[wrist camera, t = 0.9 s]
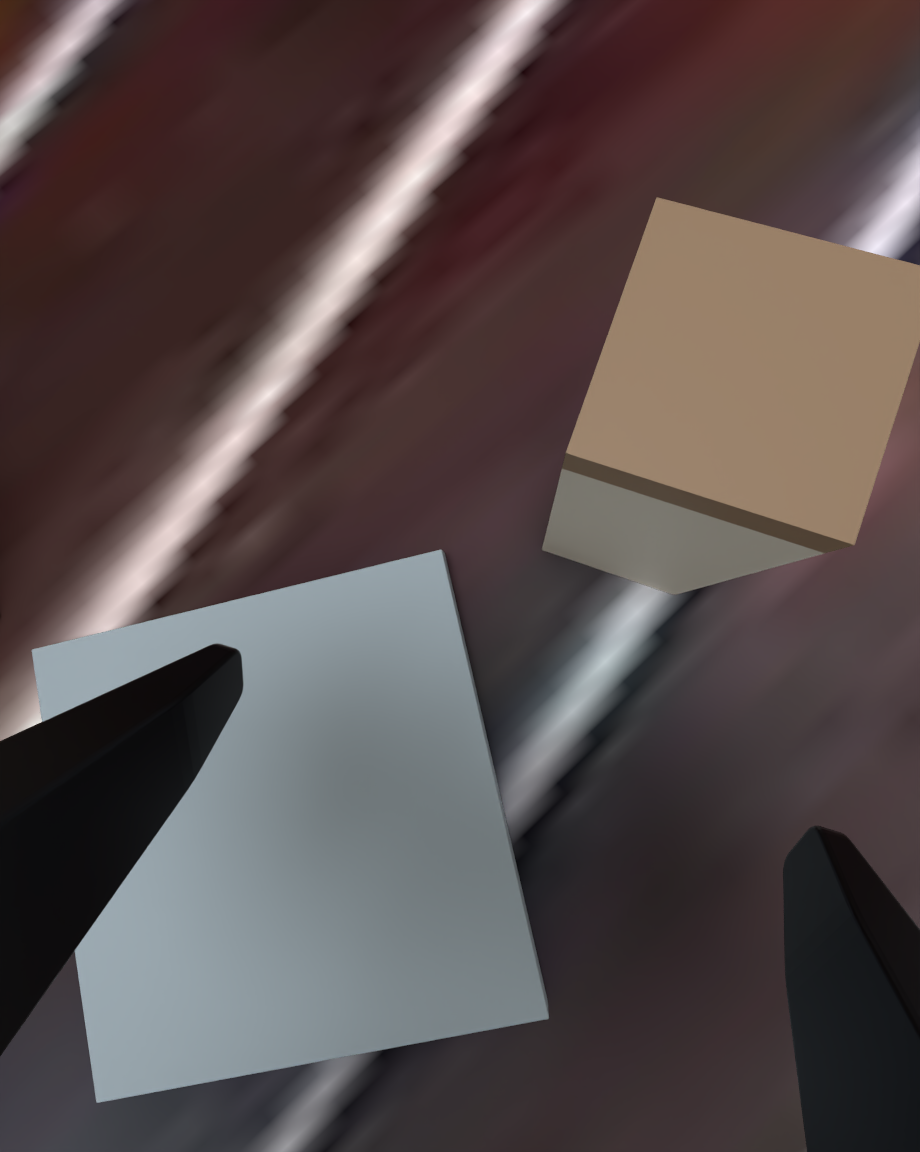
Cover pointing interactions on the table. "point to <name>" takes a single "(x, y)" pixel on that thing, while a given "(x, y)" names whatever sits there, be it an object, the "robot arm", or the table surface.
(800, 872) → the robot arm
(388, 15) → the table surface
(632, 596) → the table surface
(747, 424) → the tan block
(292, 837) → the slate mat
